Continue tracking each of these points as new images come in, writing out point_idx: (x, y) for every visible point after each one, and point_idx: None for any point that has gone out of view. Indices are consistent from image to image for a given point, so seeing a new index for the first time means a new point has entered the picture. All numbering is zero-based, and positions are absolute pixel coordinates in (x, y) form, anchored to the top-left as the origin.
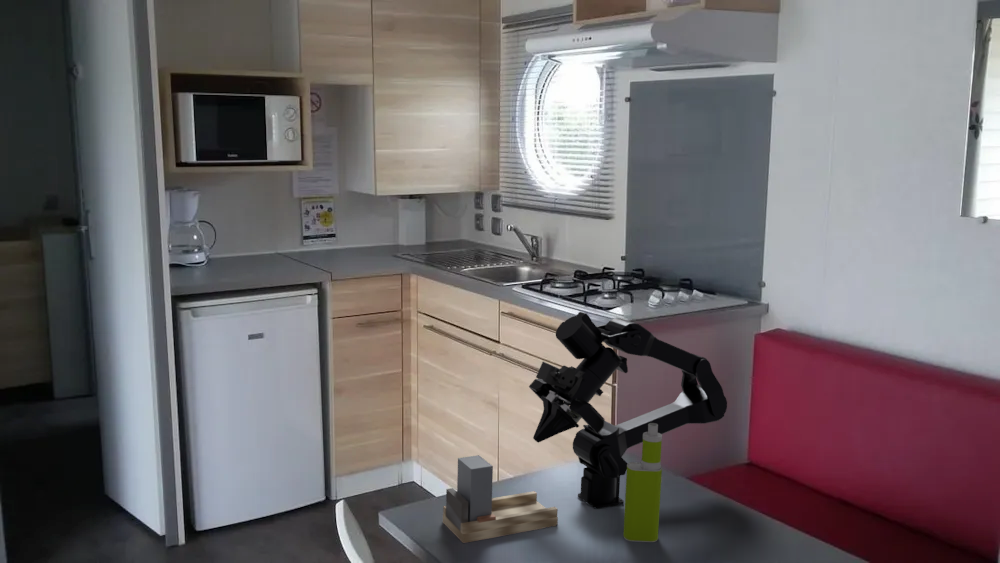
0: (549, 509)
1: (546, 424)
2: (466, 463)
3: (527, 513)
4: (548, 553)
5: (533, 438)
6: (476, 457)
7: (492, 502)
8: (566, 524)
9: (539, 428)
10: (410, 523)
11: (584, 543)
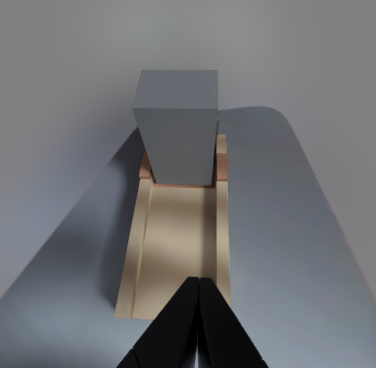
0: (121, 295)
1: (141, 348)
2: (177, 72)
3: (131, 240)
4: (53, 236)
5: (207, 278)
6: (204, 99)
7: (216, 211)
8: (117, 341)
9: (204, 314)
10: (236, 120)
11: (33, 320)
